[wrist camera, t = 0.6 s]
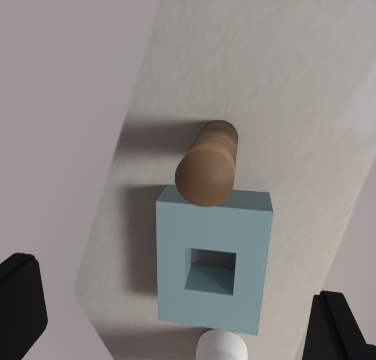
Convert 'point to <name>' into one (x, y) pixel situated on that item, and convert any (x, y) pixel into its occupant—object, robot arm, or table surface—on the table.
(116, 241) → the table surface
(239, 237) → the socket block
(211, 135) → the peg
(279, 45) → the table surface
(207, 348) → the water bottle
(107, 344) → the table surface
